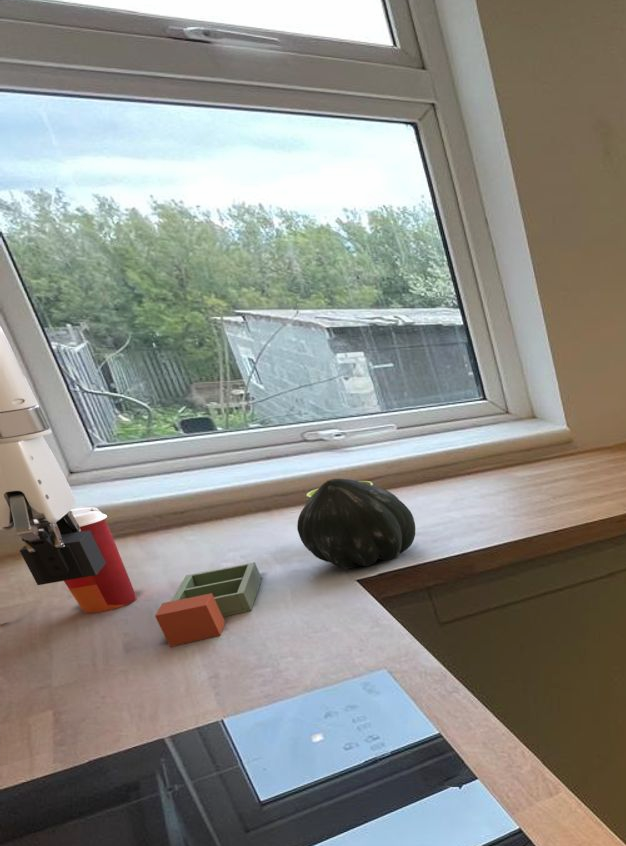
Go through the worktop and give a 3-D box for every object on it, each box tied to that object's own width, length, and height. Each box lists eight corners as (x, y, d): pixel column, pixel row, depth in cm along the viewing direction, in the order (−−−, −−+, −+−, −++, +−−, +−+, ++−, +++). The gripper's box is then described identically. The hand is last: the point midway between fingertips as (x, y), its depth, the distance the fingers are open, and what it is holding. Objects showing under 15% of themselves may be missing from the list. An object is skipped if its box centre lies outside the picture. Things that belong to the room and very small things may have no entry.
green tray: (175, 627, 111) (166, 608, 110) (193, 592, 122) (185, 575, 121) (251, 610, 115) (243, 592, 114) (262, 578, 126) (254, 562, 125)
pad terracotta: (170, 646, 105) (154, 615, 103) (176, 633, 109) (162, 603, 107) (220, 635, 108) (206, 604, 106) (225, 622, 112) (211, 592, 110)
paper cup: (146, 589, 124) (103, 502, 119) (146, 603, 119) (101, 513, 114) (73, 606, 119) (25, 515, 114) (69, 621, 114) (19, 527, 109)
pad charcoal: (37, 585, 97) (19, 550, 95) (49, 572, 101) (32, 538, 99) (96, 575, 100) (79, 541, 98) (106, 563, 103) (90, 530, 102)
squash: (396, 504, 142) (309, 456, 129) (449, 517, 136) (363, 468, 123) (348, 576, 137) (252, 533, 124) (401, 592, 131) (306, 549, 118)
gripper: (-24, 418, 97) (48, 559, 104) (-83, 445, 84) (4, 603, 92) (65, 410, 101) (129, 546, 108) (22, 434, 88) (97, 586, 96)
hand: (71, 570), depth 100 cm, fingers closed on pad charcoal, 5 cm apart
